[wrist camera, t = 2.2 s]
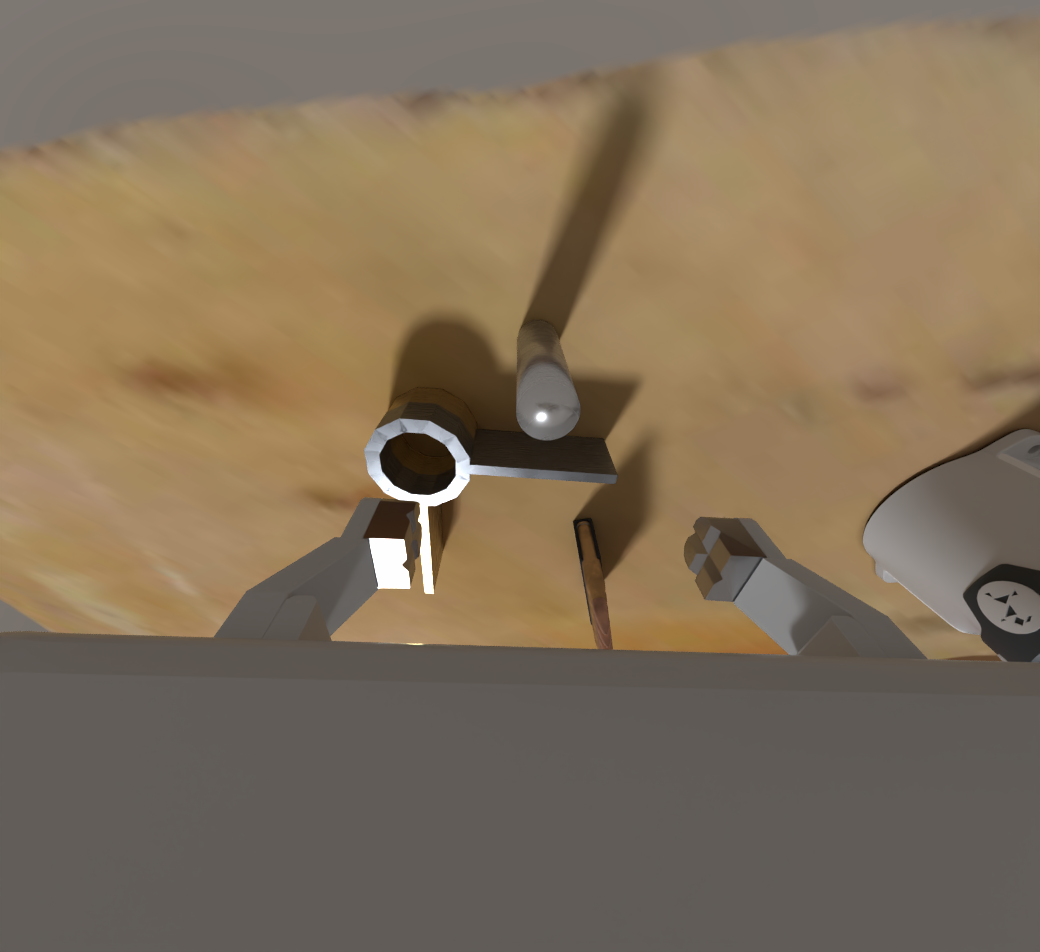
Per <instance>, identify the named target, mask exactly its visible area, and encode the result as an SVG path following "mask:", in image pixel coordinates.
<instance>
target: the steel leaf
mask: <svg viewBox="0 0 1040 952" xmlns="http://www.w3.org/2000/svg"><path fill="white" fill-rule="evenodd" d="M404 432H410V433H424V434H428V435H429V436H431V437H433V438H435V439H437V440H438V441H440V442H442V443H444V444H445V445H446V446H447V448H448V449H449V451H450V452H451V454H452V455H453V457H454V458H455V460H456V464H455V465H454V467H453V468H452V469H451V470H448V471H446V472H443V473H441V474H438V475H427V474H418V473H416V472H414V471H413V470H411V469H409V468H407V467H405V466H403V465H402V464H401V462H400V461H399V460H398V459H397V457H396V456H395V455H394V453H393V452H392V446H391V438H393V437H395V436H397V435H399V434H402V433H404ZM473 442H474V445H473ZM364 452H365V458H366V463H367V469H368V474H369V475H370V476H371V477H372V478H373V479H374V481H375V482H376V483H377V484H378V485H379V486H380V488H381V489H382V490H383V491H384V492H385V493H386V494H388V495H391V496H393V497H395V498H397V499H399V500H411V501H418V502H419V503H420V504H422V503H426V502H427V506H436V505H438V504H441V503H443V502H446V501H449V500H451V499H454V498H456V497H457V496H458V495H459V493H460V492H461V491H462V489H463V488H464V487H465V486H466V484H467V483H468V482H469V480H470V475H471V474H479V475H493V476H508V477H522V478H537V479H551V480H566V481H580V482H594V483H609V484H615V483H616V479H617V476H618V475H617V472H616V469H615V467H614V464H613V462H612V459H611V456H610V454H609V451H608V449H607V446H606V443H605V441H604V439H603V438H589V437H576V436H563V437H561V438H558V439H554V440H539V439H536V438H533V437H531V436H529V435H528V434H527V433H523V432H510V431H497V430H484V429H477V430H476V435H475V440H474V439H473V437H472V436H471V434H470V432H469V431H468V429H467V427H466V426H465V424H464V423H463V421H462V419H461V418H460V417H458V416H457V415H455V414H453V413H452V412H450V411H448V410H447V409H445V408H443V407H441V406H440V405H438V404H434V403H421V402H407V403H405V404H403V405H401V406H399V407H397V408H395V409H393V410H390V411H388V412H387V413H386V414H385V416H384V417H383V419H382V420H381V422H380V423H379V425H378V426H377V428H376V429H375V431H374V433H373V435H372V437H371V438H370V440H369V442H368V444H367V446H366V448H365V450H364ZM416 498H417V500H416ZM420 498H421V499H422V500H421V499H420ZM423 498H426V502H425V501H424V499H423ZM420 500H421V501H420ZM422 501H423V502H422ZM425 505H426V504H425Z"/></svg>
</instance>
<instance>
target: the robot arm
mask: <svg viewBox="0 0 1040 952" xmlns="http://www.w3.org/2000/svg"><path fill="white" fill-rule="evenodd" d="M420 514H421V509H420V503H419V502H418V501H411V500H398V499H385V498H383V499H381V498H367V497H364V498H363V499H362V500H360V502H359V504H358V506H357V508H356V510H355V512H354V513H353V515H352V517H351V519H350V521H349V523H348V524H347V526H346V528H345V530H344V532H343V534H342V536H341V537H340V538H338V537H335V538H333V539H331V540H330V541H328V542H326V543H325V544H323V545H322V546H320V547H318V548H317V549H315V550H313V551H312V552H310V553H308V554H307V555H305V556H304V557H302V558H300V559H299V560H297V561H295V562H294V563H292V564H290V565H289V566H287V567H286V568H284V569H282V570H281V571H279V572H277V573H276V574H274V575H272V576H271V577H269V578H268V579H266V580H264V581H263V582H261V583H259V584H258V585H256V586H255V587H253V588H251V589H250V590H248V591H246V593H245V594H244V596H243V597H242V598H241V600H240V601H239V602H238V604H237V605H236V607H235V608H234V609H233V611H232V612H231V614H230V615H229V616H228V618H227V619H226V621H225V622H224V623H223V625H222V626H221V628H220V629H219V630H218V632H217V633H216V635H215V636H214V637H178V636H144V635H110V634H76V633H54V632H34V631H22V632H21V631H18V632H17V631H15V632H1V633H0V952H1040V432H1037V431H1034V430H1031V429H1022V430H1018V431H1015V432H1013V433H1011V434H1009V435H1007V436H1005V437H1003V438H1001V439H999V440H998V441H996V442H994V443H992V444H991V445H989V446H987V447H986V448H984V449H982V450H980V451H978V452H976V453H973V454H971V455H968V456H965V457H962V458H959V459H956V460H954V461H951V462H948V463H946V464H943V465H941V466H938V467H936V468H934V469H932V470H930V471H928V472H926V473H924V474H922V475H920V476H919V477H917V478H915V479H914V480H912V481H910V482H909V483H907V484H906V485H904V486H903V487H902V488H900V489H899V490H898V491H896V492H895V493H894V494H893V495H891V496H890V497H889V498H888V499H887V500H886V501H885V502H884V503H883V504H882V505H881V506H880V507H879V508H878V509H877V510H876V512H875V513H874V514H873V516H872V517H871V518H870V520H869V522H868V524H867V526H866V528H865V531H864V535H863V544H864V547H865V550H866V551H867V553H868V554H869V555H870V556H871V557H872V558H873V559H874V560H875V561H876V574H877V575H878V576H879V577H880V578H881V579H883V580H884V581H885V582H889V583H890V582H899V583H900V584H901V585H902V586H904V587H905V588H906V589H907V590H908V591H910V592H911V593H912V594H913V595H914V596H916V597H917V598H918V599H919V600H920V601H922V602H923V603H924V604H925V605H927V606H928V607H929V608H930V609H931V610H933V611H934V612H935V613H936V614H938V615H939V616H940V617H941V618H942V619H944V620H945V621H946V622H947V623H949V624H950V625H951V626H952V627H954V628H955V629H957V630H959V631H961V632H964V633H970V634H977V635H981V638H982V640H983V642H984V643H985V644H986V645H988V646H989V647H990V648H991V649H992V650H993V651H994V652H995V653H996V654H998V656H999V657H1000V659H1001V660H1002V661H967V660H966V661H965V660H936V659H927V658H926V657H925V656H924V655H923V654H922V652H921V651H920V650H919V649H918V648H917V647H916V646H915V645H914V644H913V643H912V642H911V641H910V640H909V639H908V638H907V637H906V635H905V634H904V633H903V632H902V631H901V630H900V629H899V628H898V627H897V626H896V625H895V624H894V623H893V622H892V621H891V620H890V619H889V617H888V616H886V615H884V614H883V613H881V612H879V611H877V610H876V609H874V608H872V607H871V606H869V605H867V604H866V603H864V602H862V601H861V600H859V599H857V598H856V597H854V596H852V595H851V594H849V593H847V592H846V591H844V590H842V589H841V588H839V587H837V586H836V585H834V584H832V583H831V582H829V581H827V580H826V579H824V578H822V577H821V576H819V575H817V574H816V573H814V572H812V571H811V570H809V569H807V568H805V567H804V566H802V565H800V564H799V563H797V562H795V561H794V560H792V559H786V558H785V556H784V555H783V554H782V553H781V552H780V550H779V549H778V548H777V547H776V545H775V544H774V543H773V542H772V541H771V539H770V538H769V537H768V536H767V534H766V533H765V532H764V531H763V529H762V528H761V527H760V526H759V525H758V523H757V522H756V521H754V520H752V519H750V518H716V517H700V518H698V519H697V520H696V522H695V524H694V526H693V528H694V530H695V533H694V534H693V535H691V536H690V537H688V539H687V541H686V543H685V546H684V557H685V562H686V564H687V566H688V568H689V569H690V570H691V571H692V572H694V573H695V574H696V575H697V577H696V580H695V582H696V584H697V586H698V588H699V590H700V592H701V593H702V595H703V597H704V599H705V600H715V601H730V602H734V604H735V605H736V606H737V607H738V608H739V609H740V610H741V611H742V612H743V613H745V614H746V615H747V616H748V617H749V618H750V619H751V620H752V621H753V622H754V623H755V624H757V625H758V626H759V627H760V628H761V629H762V630H763V631H764V632H765V633H766V634H767V635H769V636H770V637H771V638H772V639H773V640H774V641H775V642H776V643H777V644H778V645H779V646H781V647H782V648H783V649H784V650H785V651H786V652H787V653H788V654H789V655H774V654H741V653H708V652H674V651H640V650H608V649H576V648H543V647H510V646H477V645H444V644H411V643H378V642H345V641H332V640H331V637H330V636H331V635H332V634H333V633H334V632H335V631H336V630H337V629H338V628H339V627H340V626H341V625H342V624H343V623H344V622H345V621H346V620H347V619H348V618H349V617H350V616H351V615H352V614H353V613H354V612H355V611H356V610H358V609H359V608H360V607H361V606H362V605H363V604H364V603H365V602H366V601H367V600H368V599H369V598H370V597H371V596H372V595H373V594H374V593H375V592H376V591H377V590H378V588H410V586H411V583H412V579H413V576H414V572H415V559H416V558H418V557H419V554H420V550H421V544H422V524H421V523H420V522H419V521H418V520H419V517H420Z"/></svg>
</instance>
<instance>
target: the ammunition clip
mask: <svg viewBox="0 0 1040 952" xmlns="http://www.w3.org/2000/svg"><path fill="white" fill-rule="evenodd" d="M573 524H574V530H575V536H576V541H577V547H578V553H579V559H580V564H581V570H582V576H583V582H584V587H585V593H586V599H587V604H588V610H589V616H590V621H591V625H592V626H593V631H594V637H595V642H596V646H597V649H608V650H613V647H612V639H611V630H610V621H609V615H608V606H607V597H606V592H605V582H604V578H603V573H602V565H601V557H600V553H599V549H598V544H597V540H596V536H595V532H594V528H593V523H592V519H591V518H590V519H583V520H577V521H573Z"/></svg>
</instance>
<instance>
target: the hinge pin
mask: <svg viewBox="0 0 1040 952" xmlns="http://www.w3.org/2000/svg"><path fill="white" fill-rule="evenodd" d="M516 416H517V420H518V423H519V425H520V427H521V428H522V429H523V431H524V432H526V433H527V434H528V435H529V436H531V437H533V438H536V439H539V440H554V439H558V438H561V437H563V436H565V435H566V434H568V433H569V432H570V431H571V430H572V429H573V428H574V427H575V425H576V424H577V422H578V420H579V417H580V402H579V399H578V396H577V393H576V390H575V387H574V384H573V381H572V378H571V375H570V372H569V369H568V366H567V363H566V360H565V357H564V354H563V350H562V347H561V344H560V341H559V338H558V335H557V332H556V330H555V328H554V327H553V326H552V325H551V324H550V323H548V322H546V321H544V320H532V321H530V322H528V323H526V324H525V325H524V326H523V327H522V328H521V329H520V331H519V333H518V337H517V389H516Z"/></svg>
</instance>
